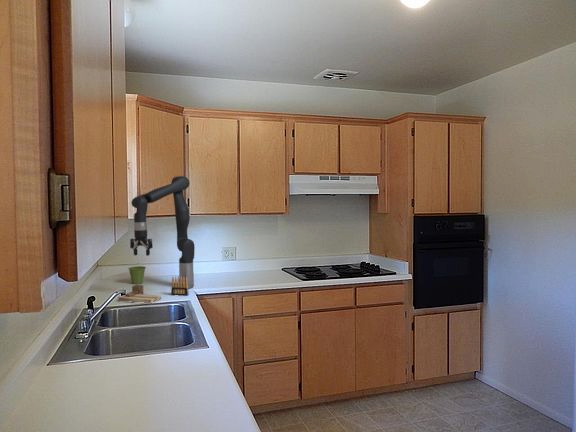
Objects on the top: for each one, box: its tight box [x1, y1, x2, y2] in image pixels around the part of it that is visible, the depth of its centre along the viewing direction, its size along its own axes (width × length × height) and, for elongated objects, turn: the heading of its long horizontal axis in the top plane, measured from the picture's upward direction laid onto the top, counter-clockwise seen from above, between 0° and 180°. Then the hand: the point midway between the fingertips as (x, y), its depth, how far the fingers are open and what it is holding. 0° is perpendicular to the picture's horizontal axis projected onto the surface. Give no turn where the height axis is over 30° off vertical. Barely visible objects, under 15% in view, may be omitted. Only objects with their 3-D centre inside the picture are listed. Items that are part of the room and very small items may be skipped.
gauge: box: [124, 284, 144, 296], centre depth 240 cm, size 12×5×8 cm, turn 165°
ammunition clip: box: [170, 275, 189, 297], centre depth 248 cm, size 11×2×12 cm, turn 82°
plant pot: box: [128, 265, 147, 285], centre depth 283 cm, size 12×12×11 cm
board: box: [117, 293, 162, 304], centre depth 235 cm, size 10×22×2 cm, turn 74°
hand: (141, 255), depth 245 cm, fingers open, 8 cm apart
